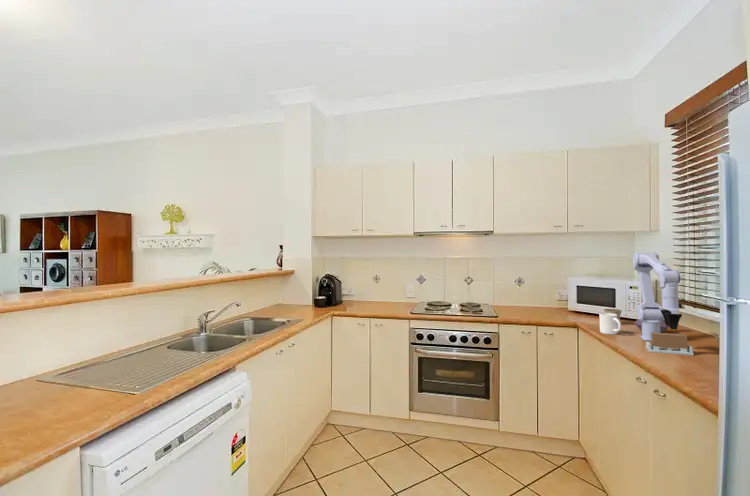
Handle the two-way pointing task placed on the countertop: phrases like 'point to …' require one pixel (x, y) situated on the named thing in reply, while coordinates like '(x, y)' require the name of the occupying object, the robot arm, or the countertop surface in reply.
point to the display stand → (670, 349)
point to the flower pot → (614, 312)
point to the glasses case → (669, 340)
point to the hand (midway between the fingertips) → (671, 327)
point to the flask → (662, 324)
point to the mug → (609, 323)
